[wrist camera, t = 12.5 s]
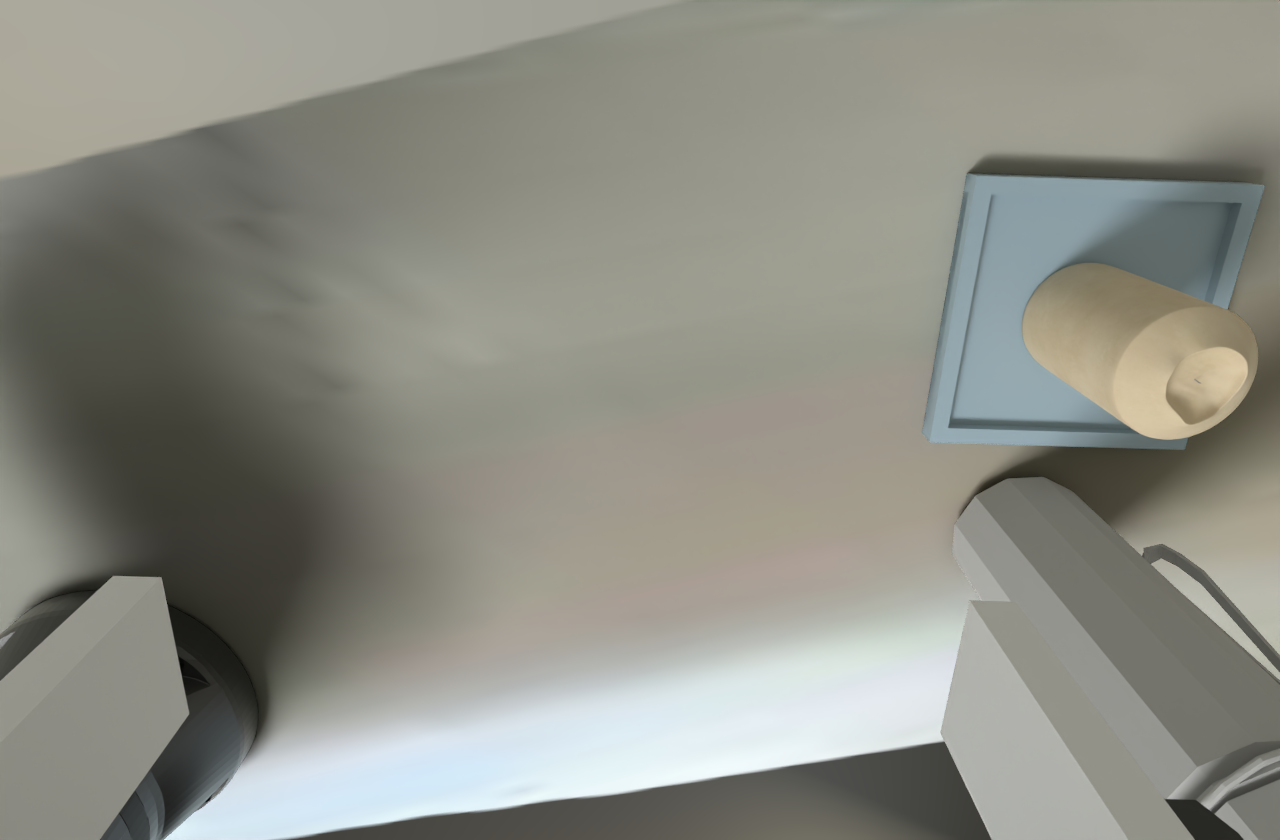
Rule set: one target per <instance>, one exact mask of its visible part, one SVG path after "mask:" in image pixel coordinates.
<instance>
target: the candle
mask: <svg viewBox="0 0 1280 840" xmlns="http://www.w3.org/2000/svg"><path fill="white" fill-rule="evenodd" d="M1022 336H1023V341H1024V343H1025V346H1026V348H1027V350H1028V351H1029V353H1030V354H1031V356H1032V357H1033V358H1034V359H1035V360H1036V361H1037V362H1038V363H1039V364H1040V365H1041V366H1043V367H1044V368H1045V369H1047V370H1048V371H1050V372H1051V373H1052V374H1054V375H1055V376H1057V377H1058V378H1060V379H1061V380H1062V381H1064V382H1065V383H1067V384H1068V385H1070V386H1071V387H1072V388H1074V389H1075V390H1077V391H1078V392H1080V393H1081V394H1083V395H1084V396H1085V397H1087V398H1088V399H1090V400H1091V401H1093V402H1094V403H1095V404H1097V405H1098V406H1100V407H1101V408H1103V409H1104V410H1106V411H1107V412H1108V413H1110V414H1111V415H1113V416H1114V417H1116V418H1117V419H1118V420H1120V421H1121V422H1123V423H1124V424H1126V425H1127V426H1129V427H1130V428H1131V429H1133V430H1135V431H1136V432H1138V433H1140V434H1142V435H1144V436H1147V437H1151V438H1155V439H1162V440H1173V439H1181V438H1186V437H1190V436H1193V435H1196V434H1199V433H1201V432H1204V431H1206V430H1208V429H1210V428H1212V427H1213V426H1215V425H1217V424H1218V423H1220V422H1221V421H1222V420H1224V419H1225V418H1226V417H1227V416H1228V415H1230V414H1231V413H1232V412H1233V411H1234V410H1235V409H1236V408H1237V407H1238V406H1239V404H1240V403H1241V402H1242V400H1243V399H1244V398H1245V396H1246V395H1247V393H1248V391H1249V390H1250V388H1251V385H1252V383H1253V381H1254V378H1255V375H1256V372H1257V366H1258V346H1257V342H1256V339H1255V336H1254V334H1253V332H1252V330H1251V329H1250V327H1249V326H1248V325H1247V323H1246V322H1245V321H1244V320H1243V319H1242V318H1241V317H1239V316H1238V315H1236V314H1235V313H1233V312H1231V311H1229V310H1227V309H1224V308H1222V307H1219V306H1216V305H1214V304H1211V303H1209V302H1206V301H1203V300H1201V299H1198V298H1195V297H1193V296H1190V295H1187V294H1185V293H1182V292H1180V291H1177V290H1174V289H1172V288H1169V287H1166V286H1164V285H1161V284H1158V283H1156V282H1153V281H1151V280H1148V279H1145V278H1143V277H1140V276H1137V275H1135V274H1132V273H1130V272H1127V271H1124V270H1122V269H1119V268H1116V267H1113V266H1109V265H1106V264H1101V263H1079V264H1075V265H1071V266H1068V267H1065V268H1063V269H1061V270H1059V271H1057V272H1055V273H1054V274H1052V275H1051V276H1049V277H1048V278H1047V279H1046V280H1044V281H1043V282H1042V283H1041V284H1040V285H1039V286H1038V287H1037V289H1036V290H1035V291H1034V293H1033V294H1032V296H1031V297H1030V299H1029V301H1028V303H1027V305H1026V307H1025V310H1024V313H1023V318H1022Z"/></svg>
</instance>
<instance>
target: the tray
mask: <svg viewBox="0 0 1280 840" xmlns="http://www.w3.org/2000/svg"><path fill="white" fill-rule="evenodd" d="M1264 188H1265V185H1260V184H1254V183H1247V182H1219V181H1189V180H1159V179H1129V178H1098V177H1068V176H1038V175H1008V174H978V173H967V176H966V182H965V188H964V193H963V199H962V205H961V211H960V217H959V222H958V228H957V234H956V240H955V246H954V251H953V257H952V263H951V269H950V274H949V280H948V286H947V292H946V298H945V303H944V309H943V315H942V321H941V327H940V332H939V338H938V344H937V350H936V356H935V361H934V367H933V373H932V379H931V384H930V390H929V396H928V402H927V408H926V413H925V419H924V425H923V431H922V434H923V435H924V436H925V437H926V439H927V440H928V441H929V442H934V443H968V444H1001V445H1035V446H1068V447H1102V448H1135V449H1169V450H1185V447H1186V444H1187V441H1188V437H1186V438H1181V439H1173V440H1162V439H1155V438H1151V437H1147V436H1144V435H1142V434H1140V433H1138V432H1136V431H1135V430H1133V429H1131V428H1130V427H1129V426H1127V425H1126V424H1124V423H1123V422H1121V421H1120V420H1118V419H1117V418H1116V417H1114V416H1113V415H1111V414H1110V413H1108V412H1107V411H1106V410H1104V409H1103V408H1101V407H1100V406H1098V405H1097V404H1095V403H1094V402H1093V401H1091V400H1090V399H1088V398H1087V397H1085V396H1084V395H1083V394H1081V393H1080V392H1078V391H1077V390H1075V389H1074V388H1072V387H1071V386H1070V385H1068V384H1067V383H1065V382H1064V381H1062V380H1061V379H1060V378H1058V377H1057V376H1055V375H1054V374H1052V373H1051V372H1050V371H1048V370H1047V369H1045V368H1044V367H1043V366H1041V365H1040V364H1039V363H1038V362H1037V361H1036V360H1035V359H1034V358H1033V357H1032V356H1031V354H1030V353H1029V351H1028V350H1027V348H1026V346H1025V343H1024V341H1023V336H1022V318H1023V313H1024V310H1025V307H1026V305H1027V303H1028V301H1029V299H1030V297H1031V296H1032V294H1033V293H1034V291H1035V290H1036V289H1037V287H1038V286H1039V285H1040V284H1041V283H1042V282H1043V281H1044V280H1046V279H1047V278H1048V277H1049V276H1051V275H1052V274H1054V273H1055V272H1057V271H1059V270H1061V269H1063V268H1065V267H1068V266H1071V265H1075V264H1079V263H1101V264H1106V265H1109V266H1113V267H1116V268H1119V269H1122V270H1124V271H1127V272H1130V273H1132V274H1135V275H1137V276H1140V277H1143V278H1145V279H1148V280H1151V281H1153V282H1156V283H1158V284H1161V285H1164V286H1166V287H1169V288H1172V289H1174V290H1177V291H1180V292H1182V293H1185V294H1187V295H1190V296H1193V297H1195V298H1198V299H1201V300H1203V301H1206V302H1209V303H1211V304H1214V305H1216V306H1219V307H1222V308H1224V309H1228V306H1229V303H1230V299H1231V296H1232V293H1233V289H1234V286H1235V283H1236V280H1237V276H1238V273H1239V270H1240V266H1241V263H1242V260H1243V257H1244V253H1245V250H1246V247H1247V243H1248V240H1249V237H1250V234H1251V230H1252V227H1253V224H1254V220H1255V217H1256V214H1257V211H1258V207H1259V204H1260V201H1261V197H1262V194H1263V191H1264Z"/></svg>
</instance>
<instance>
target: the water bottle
mask: <svg viewBox="0 0 1280 840" xmlns="http://www.w3.org/2000/svg"><path fill="white" fill-rule="evenodd" d="M952 554H953V556H954V558H955V559H956V561H957V563H958V564H959V566H960V568H961V569H962V571H963V573H964V575H965V576H966V578H967V579H968V581H969V582H970V584H971V585H972V587H973V588H974V590H975V591H976V593H977V594H978V596H979V597H980V599H981V600H982V601H1007V602H1016V603H1017V604H1018V605H1019V607H1020V608H1021V609H1022V611H1023V612H1024V613H1025V615H1026V616H1027V617H1028V619H1029V620H1030V621H1031V623H1032V624H1033V625H1034V627H1035V628H1036V629H1037V631H1038V632H1039V633H1040V635H1041V636H1042V637H1043V639H1044V640H1045V641H1046V643H1047V644H1048V645H1049V647H1050V648H1051V649H1052V651H1053V652H1054V653H1055V655H1056V656H1057V657H1058V659H1059V660H1060V661H1061V663H1062V664H1063V665H1064V667H1065V668H1066V669H1067V671H1068V672H1069V673H1070V675H1071V676H1072V677H1073V679H1074V680H1075V681H1076V683H1077V684H1078V685H1079V686H1080V688H1081V689H1082V690H1083V692H1084V693H1085V694H1086V696H1087V697H1088V698H1089V700H1090V701H1091V702H1092V704H1093V705H1094V706H1095V708H1096V709H1097V710H1098V712H1099V713H1100V714H1101V716H1102V717H1103V718H1104V720H1105V721H1106V722H1107V724H1108V725H1109V726H1110V728H1111V729H1112V730H1113V732H1114V733H1115V734H1116V736H1117V737H1118V738H1119V740H1120V741H1121V742H1122V744H1123V745H1124V746H1125V748H1126V749H1127V750H1128V752H1129V753H1130V754H1131V756H1132V757H1133V758H1134V760H1135V761H1136V762H1137V764H1138V765H1139V766H1140V768H1141V769H1142V770H1143V772H1144V773H1145V774H1146V776H1147V777H1148V778H1149V779H1150V781H1151V782H1152V783H1153V785H1154V786H1155V787H1156V789H1157V790H1158V791H1159V793H1160V794H1161V795H1162V797H1163V798H1164V799H1186V800H1197V801H1198V802H1199V803H1201V804H1202V805H1203V806H1205V807H1206V808H1207V809H1208V810H1210V811H1211V812H1212V813H1213V814H1215V815H1216V816H1217V817H1219V818H1220V819H1221V820H1222V821H1224V822H1225V823H1226V824H1228V825H1229V826H1230V827H1231V828H1233V829H1234V830H1235V831H1236V832H1238V833H1239V834H1240V836H1241V837H1242V838H1243V839H1244V840H1280V680H1279V679H1277V678H1276V677H1275V676H1274V675H1273V674H1272V673H1271V672H1270V671H1268V670H1267V669H1266V668H1265V667H1264V666H1263V665H1262V664H1261V663H1260V662H1258V661H1257V660H1256V659H1255V658H1254V657H1253V656H1252V655H1251V654H1249V653H1248V652H1247V651H1246V650H1245V649H1244V648H1243V647H1242V646H1240V645H1239V644H1238V643H1237V642H1236V641H1235V640H1234V639H1233V638H1231V637H1230V636H1229V635H1228V634H1227V633H1226V632H1225V631H1224V630H1223V629H1221V628H1220V627H1219V626H1218V625H1217V624H1216V623H1215V622H1214V621H1212V620H1211V619H1210V618H1209V617H1208V616H1207V615H1206V614H1205V613H1203V612H1202V611H1201V610H1200V609H1199V608H1198V607H1197V606H1196V605H1194V604H1193V603H1192V602H1191V601H1190V600H1189V599H1188V598H1187V597H1186V596H1184V595H1183V594H1182V593H1181V592H1180V591H1179V590H1178V589H1177V588H1175V587H1174V586H1173V585H1172V584H1171V583H1170V582H1169V581H1168V580H1167V579H1166V578H1165V577H1164V576H1163V575H1162V574H1160V573H1159V572H1158V571H1157V570H1156V569H1155V568H1154V567H1153V566H1152V565H1151V563H1153V562H1155V561H1157V560H1159V559H1160V558H1162V559H1164V560H1166V561H1168V562H1170V563H1172V564H1174V565H1176V566H1178V567H1179V568H1181V569H1182V570H1183V571H1185V572H1186V573H1187V574H1188V575H1190V576H1191V577H1192V578H1194V579H1195V580H1196V581H1198V582H1199V583H1200V584H1202V585H1203V586H1204V588H1205V589H1206V590H1207V591H1208V592H1209V593H1210V594H1211V595H1212V597H1213V598H1214V599H1215V600H1216V601H1217V602H1218V603H1219V604H1220V606H1221V607H1222V608H1223V609H1224V610H1225V611H1226V612H1227V613H1228V615H1229V616H1230V617H1231V618H1232V619H1233V620H1234V621H1235V622H1236V624H1237V625H1238V626H1239V627H1240V628H1241V629H1242V630H1243V631H1244V633H1245V634H1246V635H1247V636H1248V637H1249V638H1250V639H1251V640H1252V642H1253V643H1254V644H1255V645H1256V646H1257V647H1258V648H1259V649H1260V651H1261V652H1262V653H1263V654H1264V655H1265V656H1266V657H1267V658H1268V660H1269V661H1270V662H1271V663H1272V664H1273V665H1274V666H1275V667H1276V669H1277V670H1278V671H1279V672H1280V655H1279V654H1278V653H1277V652H1276V651H1275V650H1274V648H1273V647H1272V646H1271V645H1270V644H1269V643H1268V642H1267V641H1266V639H1265V638H1264V637H1263V636H1262V635H1261V634H1260V633H1259V632H1258V631H1257V629H1256V628H1255V627H1254V626H1253V625H1252V624H1251V623H1250V622H1249V620H1248V619H1247V618H1246V617H1245V616H1244V615H1243V614H1242V613H1241V612H1240V610H1239V609H1238V608H1237V607H1236V606H1235V605H1234V604H1233V603H1232V601H1231V600H1230V599H1229V598H1228V597H1227V596H1226V595H1225V594H1224V593H1223V591H1222V590H1221V589H1220V588H1219V587H1218V586H1217V585H1216V584H1215V582H1214V581H1213V580H1212V579H1211V578H1210V577H1209V576H1208V575H1207V574H1206V572H1205V571H1204V570H1202V569H1201V568H1199V567H1198V566H1197V565H1195V564H1194V563H1193V562H1191V561H1190V560H1189V559H1187V558H1186V557H1184V556H1183V555H1182V554H1180V553H1178V552H1176V551H1175V550H1173V549H1171V548H1169V547H1167V546H1165V545H1163V544H1159V545H1155V546H1150V547H1146V548H1144V553H1143V555H1142V556H1141V555H1140V554H1139V553H1138V552H1137V551H1136V550H1135V549H1134V548H1133V547H1132V546H1130V545H1129V544H1128V543H1127V542H1126V541H1125V540H1124V539H1123V538H1122V537H1121V536H1120V535H1119V534H1118V533H1117V532H1115V531H1114V530H1113V529H1112V528H1111V527H1110V526H1109V525H1108V524H1107V523H1106V522H1105V521H1104V520H1103V519H1102V518H1100V517H1099V516H1098V515H1097V514H1096V513H1095V512H1094V511H1093V510H1092V509H1091V508H1090V507H1089V506H1088V505H1087V504H1085V503H1084V502H1083V501H1082V500H1081V499H1080V498H1079V497H1078V496H1077V495H1076V494H1075V493H1074V492H1073V491H1071V490H1069V489H1067V488H1065V487H1063V486H1061V485H1059V484H1057V483H1055V482H1053V481H1051V480H1049V479H1047V478H1045V477H1029V478H1010V479H1006V480H1003V481H1002V482H1000V483H998V484H996V485H994V486H992V487H990V488H989V489H987V490H985V491H983V492H981V493H979V494H977V495H976V496H975V497H974V498H973V500H972V501H971V502H970V504H969V505H968V506H967V508H966V509H965V511H964V512H963V513H962V515H961V516H960V517H959V519H958V520H957V521H956V523H955V528H954V538H953V549H952Z"/></svg>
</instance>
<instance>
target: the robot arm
mask: <svg viewBox="0 0 1280 840" xmlns="http://www.w3.org/2000/svg"><path fill="white" fill-rule="evenodd" d="M257 724H258V708H257V701H256V696H255V693H254V689H253V686H252V684H251V681H250V679H249V677H248V675H247V673H246V671H245V669H244V668H243V666H242V665H241V663H240V662H239V660H238V659H237V657H236V656H235V655H234V654H233V652H232V651H231V650H230V649H229V648H228V647H227V646H226V644H225V643H224V642H223V641H222V640H221V639H219V638H218V637H217V636H216V635H215V634H214V633H213V632H211V631H210V630H209V629H208V628H206V627H205V626H204V625H202V624H201V623H199V622H198V621H196V620H195V619H193V618H192V617H190V616H188V615H187V614H185V613H183V612H181V611H179V610H177V609H175V608H173V607H171V606H168V605H167V602H166V597H165V592H164V587H163V582H162V577H136V576H113V577H112V578H110V579H109V580H108V581H107V582H106V583H105V584H104V585H103V586H102V587H101V588H100V589H99V590H98V591H82V592H75V593H69V594H65V595H61V596H58V597H54V598H52V599H49V600H47V601H44V602H42V603H40V604H38V605H37V606H35V607H33V608H32V609H30V610H29V611H27V612H26V613H25V614H24V615H22V616H21V617H20V618H19V619H18V620H17V621H15V622H14V623H13V624H12V625H11V626H10V627H8V628H7V629H6V630H5V631H4V632H3V633H1V634H0V840H164V839H165V838H166V837H167V836H168V835H169V834H171V833H172V832H173V831H174V830H175V829H176V828H177V827H178V826H180V825H181V824H182V823H183V822H184V821H185V820H186V819H187V818H188V817H189V816H190V815H192V814H193V813H194V812H195V811H197V810H199V809H200V808H202V807H203V806H205V805H206V804H207V803H209V802H210V801H211V800H212V799H214V798H215V797H216V796H217V795H218V794H219V793H220V792H221V791H222V790H223V789H224V788H225V787H226V785H227V784H228V783H229V782H230V780H231V779H232V778H233V776H234V775H235V773H236V771H237V770H238V768H239V766H240V765H241V763H242V761H243V760H244V758H245V756H246V755H247V753H248V751H249V749H250V747H251V745H252V743H253V741H254V738H255V734H256V730H257ZM941 735H942V737H943V739H944V741H945V743H946V745H947V747H948V749H949V751H950V753H951V756H952V758H953V760H954V761H955V764H956V766H957V768H958V770H959V772H960V774H961V776H962V778H963V780H964V783H965V785H966V787H967V789H968V791H969V793H970V795H971V797H972V799H973V801H974V803H975V805H976V808H977V810H978V811H979V814H980V816H981V818H982V820H983V822H984V824H985V826H986V828H987V830H988V832H989V834H990V836H991V839H992V840H1244V839H1243V838H1242V837H1241V836H1240V834H1239V833H1238V832H1236V831H1235V830H1234V829H1233V828H1231V827H1230V826H1229V825H1228V824H1226V823H1225V822H1224V821H1222V820H1221V819H1220V818H1219V817H1217V816H1216V815H1215V814H1213V813H1212V812H1211V811H1210V810H1208V809H1207V808H1206V807H1205V806H1203V805H1202V804H1201V803H1199V802H1198V801H1197V800H1186V799H1164V798H1163V797H1162V795H1161V794H1160V793H1159V791H1158V790H1157V789H1156V787H1155V786H1154V785H1153V783H1152V782H1151V781H1150V779H1149V778H1148V777H1147V776H1146V774H1145V773H1144V772H1143V770H1142V769H1141V768H1140V766H1139V765H1138V764H1137V762H1136V761H1135V760H1134V758H1133V757H1132V756H1131V754H1130V753H1129V752H1128V750H1127V749H1126V748H1125V746H1124V745H1123V744H1122V742H1121V741H1120V740H1119V738H1118V737H1117V736H1116V734H1115V733H1114V732H1113V730H1112V729H1111V728H1110V726H1109V725H1108V724H1107V722H1106V721H1105V720H1104V718H1103V717H1102V716H1101V714H1100V713H1099V712H1098V710H1097V709H1096V708H1095V706H1094V705H1093V704H1092V702H1091V701H1090V700H1089V698H1088V697H1087V696H1086V694H1085V693H1084V692H1083V690H1082V689H1081V688H1080V686H1079V685H1078V684H1077V683H1076V681H1075V680H1074V679H1073V677H1072V676H1071V675H1070V673H1069V672H1068V671H1067V669H1066V668H1065V667H1064V665H1063V664H1062V663H1061V661H1060V660H1059V659H1058V657H1057V656H1056V655H1055V653H1054V652H1053V651H1052V649H1051V648H1050V647H1049V645H1048V644H1047V643H1046V641H1045V640H1044V639H1043V637H1042V636H1041V635H1040V633H1039V632H1038V631H1037V629H1036V628H1035V627H1034V625H1033V624H1032V623H1031V621H1030V620H1029V619H1028V617H1027V616H1026V615H1025V613H1024V612H1023V611H1022V609H1021V608H1020V607H1019V605H1018V604H1017V603H1016V602H1007V601H972V600H970V601H969V606H968V610H967V615H966V619H965V624H964V628H963V633H962V637H961V642H960V646H959V651H958V656H957V660H956V665H955V669H954V674H953V678H952V683H951V687H950V692H949V696H948V701H947V705H946V710H945V715H944V719H943V724H942V728H941Z"/></svg>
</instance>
